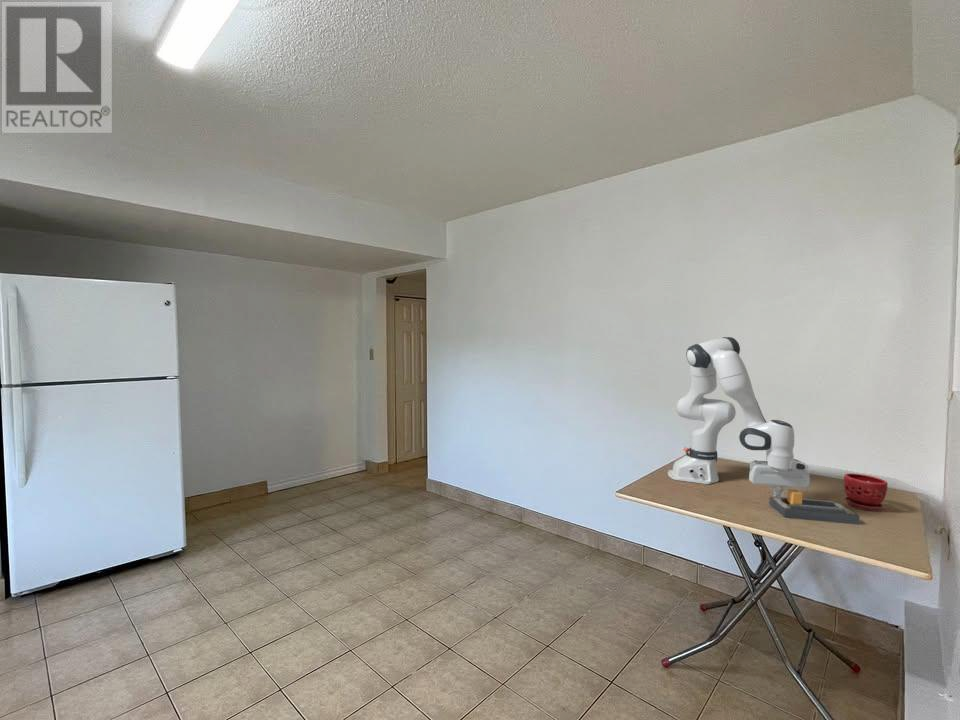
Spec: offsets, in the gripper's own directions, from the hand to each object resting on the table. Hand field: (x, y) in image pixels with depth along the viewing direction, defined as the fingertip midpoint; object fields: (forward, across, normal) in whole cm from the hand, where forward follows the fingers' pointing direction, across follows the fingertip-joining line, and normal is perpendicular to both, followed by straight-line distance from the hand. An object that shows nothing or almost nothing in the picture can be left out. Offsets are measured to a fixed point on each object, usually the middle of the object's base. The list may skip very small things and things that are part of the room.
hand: (777, 496), depth 171 cm
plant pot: (+6, +37, +14) cm, 40 cm away
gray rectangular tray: (+6, +12, 0) cm, 13 cm away
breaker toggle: (+2, +6, 0) cm, 6 cm away
